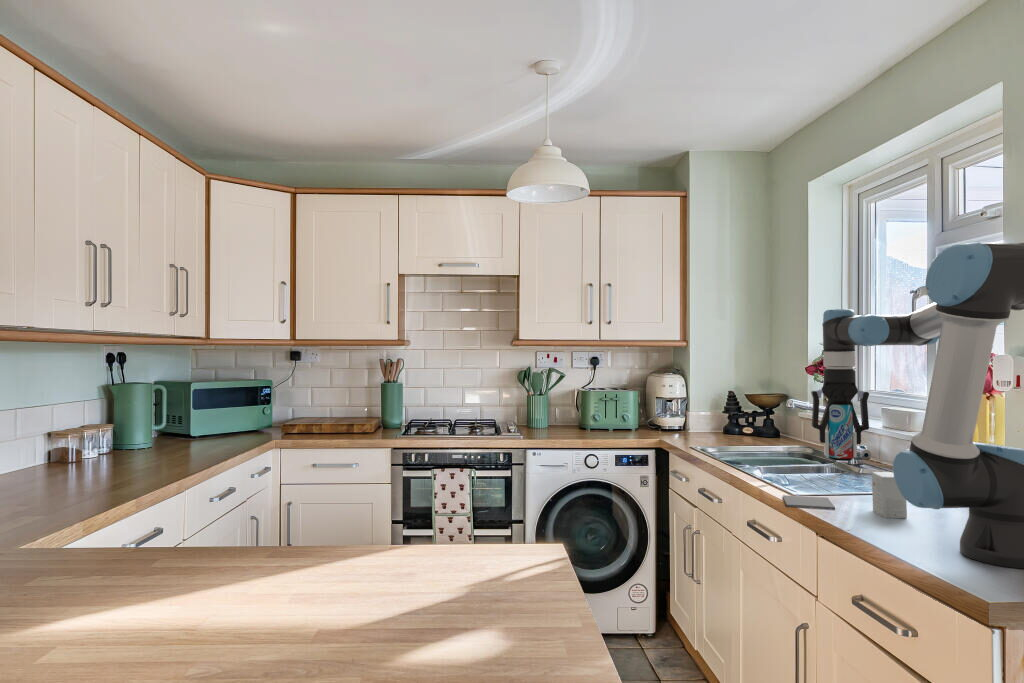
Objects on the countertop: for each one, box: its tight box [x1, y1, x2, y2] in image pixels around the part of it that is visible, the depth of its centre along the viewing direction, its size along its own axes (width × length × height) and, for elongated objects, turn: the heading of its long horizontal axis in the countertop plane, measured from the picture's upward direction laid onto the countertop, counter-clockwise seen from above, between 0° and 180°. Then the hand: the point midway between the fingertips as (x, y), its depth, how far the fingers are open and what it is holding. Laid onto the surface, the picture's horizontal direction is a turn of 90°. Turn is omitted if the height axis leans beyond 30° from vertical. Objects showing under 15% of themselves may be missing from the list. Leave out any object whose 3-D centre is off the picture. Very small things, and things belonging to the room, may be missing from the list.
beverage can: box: [826, 401, 854, 462], centre depth 168 cm, size 6×6×15 cm
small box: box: [871, 471, 908, 519], centre depth 167 cm, size 8×6×10 cm
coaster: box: [782, 494, 836, 510], centre depth 181 cm, size 12×12×1 cm
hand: (840, 455), depth 168 cm, fingers closed on beverage can, 6 cm apart
